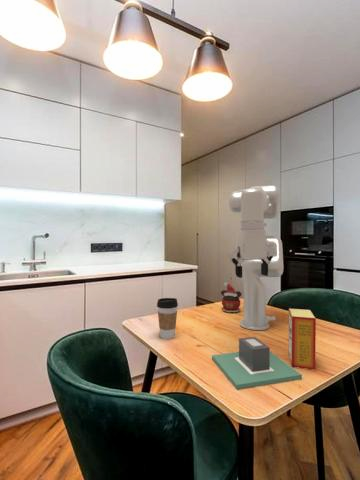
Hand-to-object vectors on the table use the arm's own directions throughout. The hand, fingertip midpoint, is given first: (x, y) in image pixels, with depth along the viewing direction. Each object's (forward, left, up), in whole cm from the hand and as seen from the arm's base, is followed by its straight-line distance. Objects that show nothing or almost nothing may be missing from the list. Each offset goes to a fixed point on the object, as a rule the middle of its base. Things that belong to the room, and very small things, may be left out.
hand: (251, 276), depth 93 cm
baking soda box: (-12, +10, -27) cm, 31 cm away
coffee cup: (+25, -22, -27) cm, 43 cm away
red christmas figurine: (-15, -48, -27) cm, 56 cm away
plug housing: (+5, +10, -25) cm, 28 cm away
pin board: (+5, +10, -26) cm, 29 cm away
